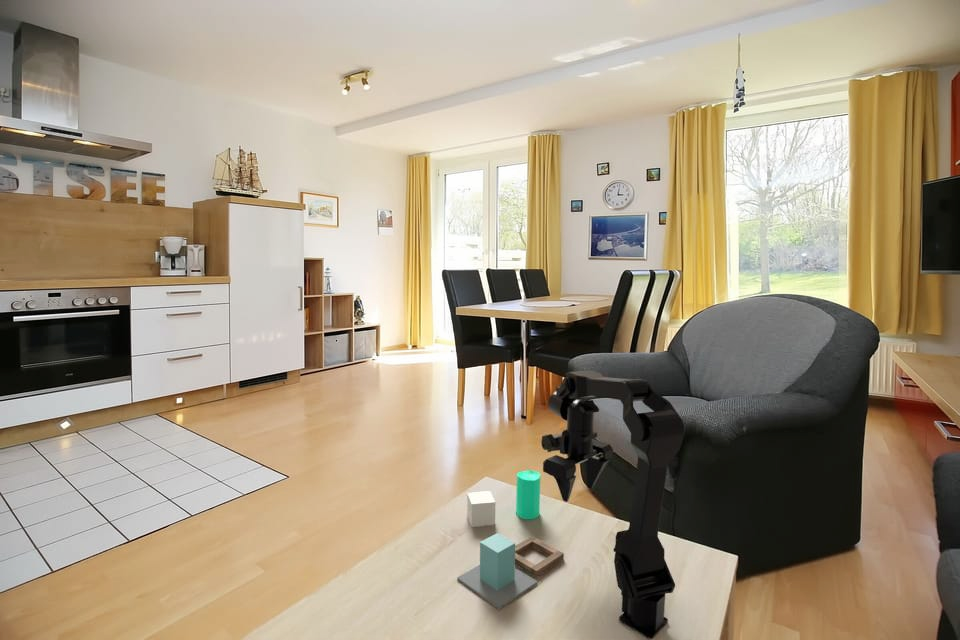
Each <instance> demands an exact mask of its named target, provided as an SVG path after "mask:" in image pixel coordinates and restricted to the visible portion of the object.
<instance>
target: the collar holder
mask: <svg viewBox="0 0 960 640" xmlns="http://www.w3.org/2000/svg"><path fill="white" fill-rule="evenodd" d="M531 549H534V550H536V551H538V552H539V553H542V554H544V555H545V556H547V557H545V558H543V560H540V561H539V562H538V563H536V564H535V563H533V562H532V561H531V560H528V559H526V558H525V557H523V556H522V554H524V553H526V552H527V551H529V550H531ZM564 556H565V553H564V552H562V551H561V550H559V549H556V548H555V547H553V546H551V545H549V544H547V543H545V542H543V541H542V540H540V539H538V538H535V537H534V536H532V535H531V536H530V537H528V538H526V539H524V540H522V541H521V542H519V543H518V544H515V567H516V566H517V567H518V568H520V569H521V570H523V571H525V572H526V573H528V574H530V575H531V576H533V577H534V578H538V577H540V576H541V575H543V574H544V573H546V572H547V571H549V570H550V569H553V567H555V566H556V565H558V564H560V563H561V562H562V561H564V559H565V558H564Z"/></svg>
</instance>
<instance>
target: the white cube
mask: <svg viewBox="0 0 960 640" xmlns="http://www.w3.org/2000/svg"><path fill="white" fill-rule="evenodd" d="M466 493H467V496H466V497H467V498H466V499H467V500H466V502H467V505H466V507H467V509H466V515H467V518H468V521H469V524H470V527H472V528H474V527H485V526H484V525H487V526H495V525H496V500H495V498H494V496H493V494H492V492H491V491H490V490H489V491H476V492H475V491H473V492H466ZM494 524H495V525H494Z"/></svg>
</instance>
